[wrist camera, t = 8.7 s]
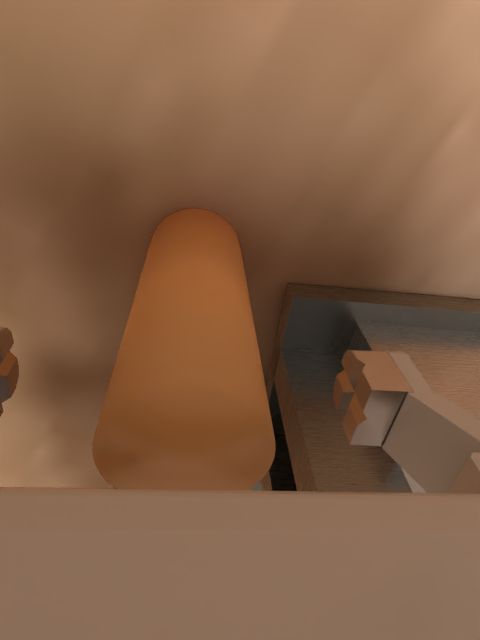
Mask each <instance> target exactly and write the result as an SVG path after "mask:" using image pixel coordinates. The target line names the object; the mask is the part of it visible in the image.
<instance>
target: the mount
mask: <svg viewBox="0 0 480 640" xmlns="http://www.w3.org/2000/svg"><path fill="white" fill-rule="evenodd" d="M347 350H365V351H383V352H384V351H400V352H405V353H406V354H408V356H409V357H410V359H411V360H412V362H413V363H414V364H415V366H416V367H417V369H418V370H419V372H420V373H421V375H422V376H423V378H424V379H425V381H426V382H427V384H428V385H429V387H430V388H431V390H432V391H433V393H434V394H441V395H442V396H444V397H445V398H447V399H449V400H450V401H452V402H453V403H455V404H457V405H458V406H460V407H461V408H463V409H464V410H466V411H468V412H469V413H471V414H472V415H474V416H475V417H477V418H479V419H480V300H478V299H466V298H454V297H443V296H431V295H419V294H408V293H396V292H385V291H373V290H361V289H350V288H338V287H327V286H315V285H303V284H292V283H288V285H287V290H286V295H285V299H284V304H283V308H282V313H281V318H280V322H279V327H278V331H277V336H276V341H275V345H274V350H273V355H272V359H271V364H270V368H269V373H268V378H267V382H266V392H267V398H268V403H269V409H270V415H271V420H272V426H273V431H274V437H275V445H276V450H275V456H274V460H273V463H272V465H271V467H270V469H269V470H268V472H267V473H266V475H265V476H264V477H263V479H262V480H260V481H259V482H258V483H257V484H256V485H255V486H254V487H252V488H251V489H250V490H255V491H317V492H388V493H427V492H426V491H425V490H424V489H423V488H422V487H421V486H420V485H419V484H418V483H417V482H416V481H415V480H414V479H413V478H412V477H411V476H410V475H409V474H408V473H407V472H406V471H405V470H404V469H403V468H402V467H401V466H400V465H399V464H398V463H397V462H396V461H395V460H394V459H393V458H392V457H391V456H390V455H389V454H388V453H387V452H386V451H385V450H384V449H383V448H382V447H383V446H367V445H350V444H349V441H348V438H347V436H346V433H345V430H344V428H343V425H342V423H343V420H344V416H343V415H342V414H341V413H339V412H338V411H337V409H336V406H335V403H334V397H333V392H334V383H335V380H336V376H337V375H338V374H339V373H340V372H342V371H343V370H344V367H343V365H342V359H343V356H344V354H345V352H346V351H347Z"/></svg>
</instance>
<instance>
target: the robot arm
mask: <svg viewBox="0 0 480 640" xmlns="http://www.w3.org/2000/svg"><path fill="white" fill-rule="evenodd" d="M13 344H14V340H13V336H12V332H11V331H10V330H9V329H8V328H4V327H0V416H1V415H2V413H3V407H2V402H4V401H6V400H7V399H9V398H10V397H11V396H12V394H13V393H14V391H15V389H16V385H17V381H18V377H19V365H18V360H17V357H15V356H14V355H13V354H12V353H11V352H10V351H9V350H10V349H11V347H12V345H13ZM342 365H343V367H344V370H343V371H342V372H340V373H339V374H338V375H337V376H336V380H335V383H334V392H333V397H334V403H335V406H336V409H337V411H338V412H339V413H341V414H342V415H343V416H344V420H343V423H342V425H343V428H344V430H345V433H346V436H347V438H348V441H349V444H350V445H367V446H383V447H382V448H383V449H384V450H385V451H386V452H387V453H388V454H389V455H390V456H391V457H392V458H393V459H394V460H395V461H396V462H397V463H398V464H399V465H400V466H401V467H402V468H403V469H404V470H405V471H406V472H407V473H408V474H409V475H410V476H411V477H412V478H413V479H414V480H415V481H416V482H417V483H418V484H419V485H420V486H421V487H422V488H423V489H424V490H425V491H426V492H427V493H388V492H317V491H255V490H185V489H112V488H41V487H0V640H480V419H479V418H477V417H475V416H474V415H472V414H471V413H469V412H468V411H466V410H464V409H463V408H461V407H460V406H458V405H457V404H455V403H453V402H452V401H450V400H449V399H447V398H445V397H444V396H442V395H441V394H434V393H433V391H432V390H431V388H430V387H429V385H428V384H427V382H426V381H425V379H424V378H423V376H422V375H421V373H420V372H419V370H418V369H417V367H416V366H415V364H414V363H413V362H412V360H411V359H410V357H409V356H408V354H406V353H405V352H400V351H384V352H383V351H365V350H347V351H346V352H345V354H344V356H343V359H342Z"/></svg>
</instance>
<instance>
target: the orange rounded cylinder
mask: <svg viewBox="0 0 480 640" xmlns="http://www.w3.org/2000/svg"><path fill="white" fill-rule="evenodd" d="M275 450H276V445H275V437H274V431H273V426H272V420H271V415H270V409H269V403H268V398H267V392H266V387H265V381H264V376H263V370H262V365H261V359H260V354H259V348H258V343H257V337H256V332H255V326H254V320H253V315H252V309H251V304H250V298H249V293H248V287H247V282H246V276H245V271H244V265H243V260H242V254H241V249H240V243H239V239H238V237H237V234H236V232H235V231H234V229H233V228H232V226H231V225H230V224H229V223H228V222H227V221H226V220H225V219H224V218H222V217H221V216H219V215H218V214H216V213H213V212H211V211H208V210H204V209H196V208H192V209H184V210H180V211H177V212H175V213H173V214H171V215H169V216H168V217H166V218H165V219H164V220H163V221H162V222H161V223H160V224H159V225H158V226H157V228H156V230H155V231H154V234H153V236H152V239H151V242H150V246H149V249H148V253H147V256H146V260H145V263H144V267H143V270H142V273H141V277H140V280H139V284H138V287H137V291H136V294H135V298H134V301H133V304H132V308H131V311H130V315H129V318H128V322H127V325H126V329H125V332H124V335H123V339H122V342H121V346H120V349H119V353H118V356H117V360H116V363H115V366H114V370H113V373H112V377H111V380H110V384H109V387H108V391H107V394H106V397H105V401H104V404H103V408H102V411H101V415H100V418H99V422H98V425H97V428H96V432H95V435H94V440H93V457H94V461H95V464H96V466H97V468H98V470H99V472H100V473H101V475H102V476H103V477H104V478H105V480H106V481H107V482H108V483H109V484H110V485H112V486H113V487H114V488H115V489H185V490H250V489H251V488H252V487H254V486H255V485H256V484H257V483H258V482H259V481H260V480H262V479H263V477H264V476H265V475H266V473H267V472H268V470H269V469H270V467H271V465H272V463H273V460H274V456H275Z"/></svg>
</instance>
